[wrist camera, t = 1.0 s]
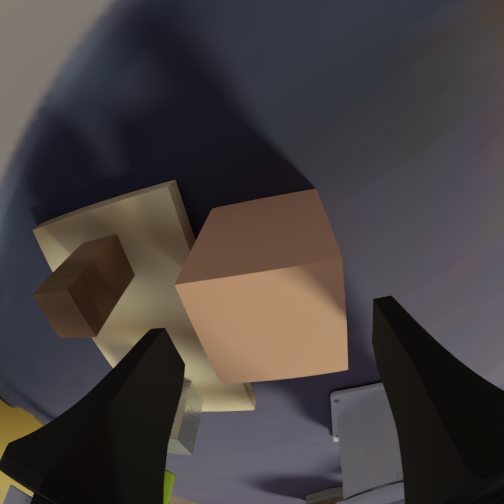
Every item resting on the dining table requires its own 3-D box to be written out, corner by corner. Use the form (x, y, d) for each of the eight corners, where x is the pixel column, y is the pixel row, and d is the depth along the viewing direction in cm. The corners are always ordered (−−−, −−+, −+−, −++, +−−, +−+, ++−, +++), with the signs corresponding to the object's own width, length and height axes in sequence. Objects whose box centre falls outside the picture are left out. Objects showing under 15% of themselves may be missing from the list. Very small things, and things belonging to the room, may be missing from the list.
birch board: (255, 398, 23) (254, 409, 22) (149, 399, 25) (146, 409, 24) (175, 179, 15) (167, 186, 14) (43, 222, 16) (32, 230, 15)
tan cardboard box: (328, 277, 17) (347, 370, 11) (237, 291, 18) (221, 384, 12) (315, 188, 14) (342, 258, 9) (212, 208, 15) (174, 284, 10)
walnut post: (135, 275, 16) (96, 337, 12) (100, 281, 17) (59, 337, 12) (116, 234, 15) (67, 289, 11) (82, 243, 15) (32, 294, 11)
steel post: (203, 400, 22) (192, 455, 17) (174, 400, 22) (160, 452, 18) (191, 381, 21) (177, 439, 16) (161, 381, 21) (143, 436, 17)
